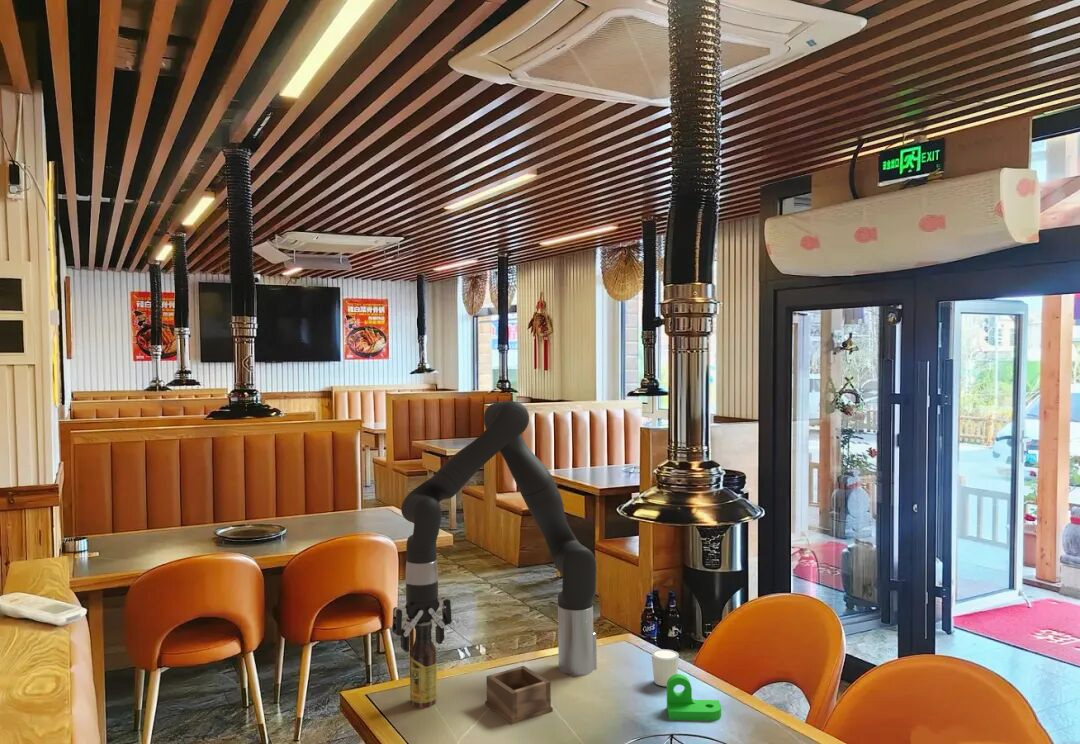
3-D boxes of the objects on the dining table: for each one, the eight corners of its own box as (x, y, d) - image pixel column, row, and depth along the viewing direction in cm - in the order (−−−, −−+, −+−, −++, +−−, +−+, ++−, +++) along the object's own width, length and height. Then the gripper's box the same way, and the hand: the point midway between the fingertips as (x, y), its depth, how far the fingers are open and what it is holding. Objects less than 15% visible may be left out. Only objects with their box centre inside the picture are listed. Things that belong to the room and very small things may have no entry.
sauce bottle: (407, 701, 186) (406, 618, 185) (433, 696, 188) (431, 615, 188) (414, 712, 180) (412, 627, 179) (440, 707, 182) (439, 623, 182)
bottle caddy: (524, 693, 189) (523, 664, 189) (552, 712, 179) (552, 682, 179) (485, 705, 183) (484, 676, 183) (512, 725, 173) (511, 694, 173)
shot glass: (662, 673, 200) (662, 646, 200) (684, 681, 195) (684, 653, 195) (646, 681, 195) (645, 654, 195) (668, 690, 190) (668, 661, 190)
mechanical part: (669, 720, 175) (669, 685, 175) (666, 707, 181) (666, 673, 181) (723, 721, 175) (723, 685, 174) (718, 708, 181) (718, 674, 180)
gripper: (441, 570, 190) (442, 635, 191) (387, 580, 182) (388, 648, 183) (456, 577, 184) (456, 645, 185) (400, 588, 176) (401, 659, 177)
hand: (422, 647), depth 184 cm, fingers open, 8 cm apart
